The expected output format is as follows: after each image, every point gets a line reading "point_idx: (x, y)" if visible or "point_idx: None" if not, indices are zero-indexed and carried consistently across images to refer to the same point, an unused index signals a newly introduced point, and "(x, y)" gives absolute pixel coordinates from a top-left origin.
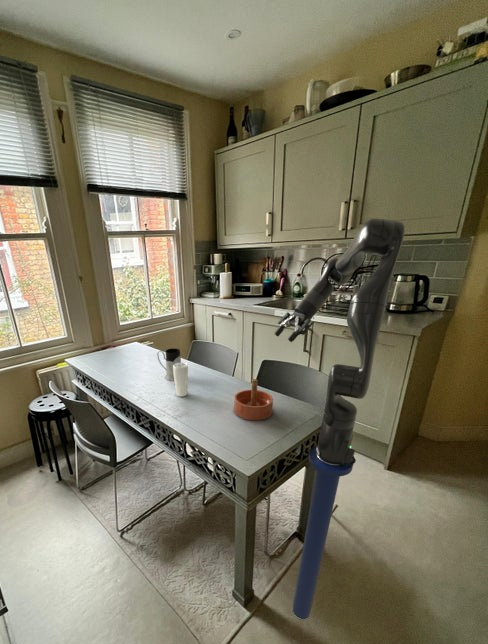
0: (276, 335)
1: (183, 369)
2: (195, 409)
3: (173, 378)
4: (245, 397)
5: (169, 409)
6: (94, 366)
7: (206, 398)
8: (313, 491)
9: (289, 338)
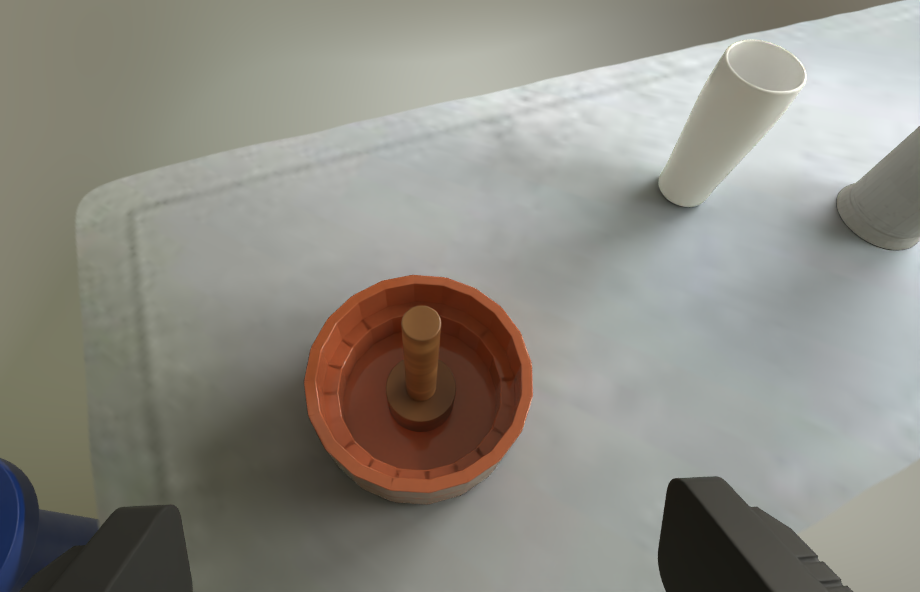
0: (669, 527)
1: (720, 75)
2: (533, 193)
3: (847, 196)
4: (509, 386)
5: (563, 122)
6: None
7: (619, 263)
8: (80, 517)
9: (113, 518)
